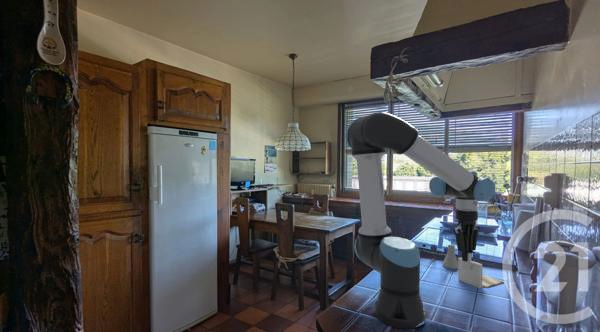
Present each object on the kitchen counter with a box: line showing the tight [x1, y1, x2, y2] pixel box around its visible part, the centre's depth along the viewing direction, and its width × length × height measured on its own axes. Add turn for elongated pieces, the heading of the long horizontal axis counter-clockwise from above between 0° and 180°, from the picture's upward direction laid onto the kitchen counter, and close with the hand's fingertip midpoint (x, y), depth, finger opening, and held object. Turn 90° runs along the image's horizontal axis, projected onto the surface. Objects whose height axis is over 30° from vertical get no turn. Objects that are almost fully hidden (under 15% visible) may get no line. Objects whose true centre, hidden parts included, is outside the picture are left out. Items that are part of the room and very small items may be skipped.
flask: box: [442, 244, 458, 270], centre depth 134 cm, size 7×7×10 cm
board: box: [482, 274, 504, 289], centre depth 118 cm, size 11×11×1 cm
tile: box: [457, 257, 484, 289], centre depth 115 cm, size 2×9×9 cm, turn 25°
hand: (466, 268), depth 114 cm, fingers closed
